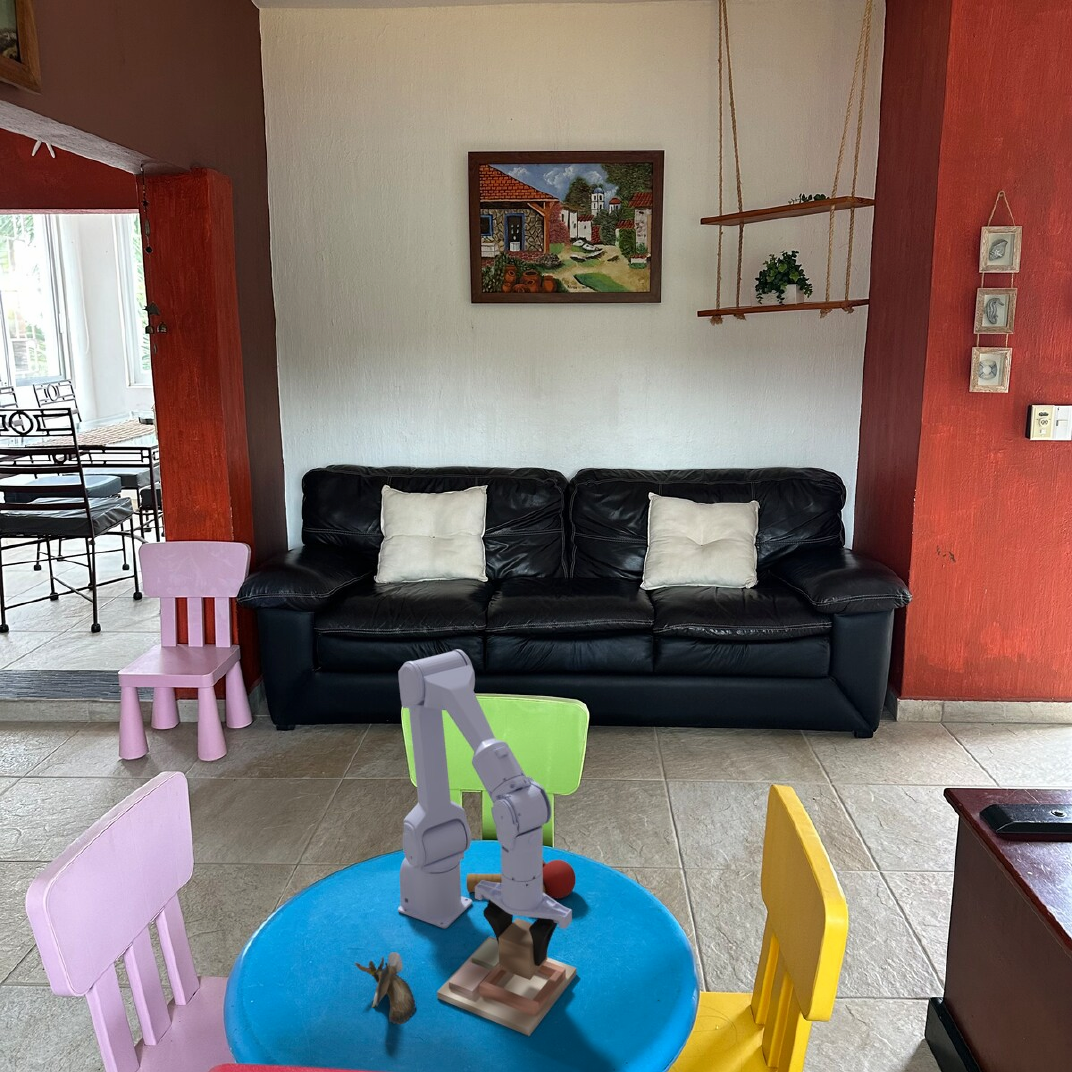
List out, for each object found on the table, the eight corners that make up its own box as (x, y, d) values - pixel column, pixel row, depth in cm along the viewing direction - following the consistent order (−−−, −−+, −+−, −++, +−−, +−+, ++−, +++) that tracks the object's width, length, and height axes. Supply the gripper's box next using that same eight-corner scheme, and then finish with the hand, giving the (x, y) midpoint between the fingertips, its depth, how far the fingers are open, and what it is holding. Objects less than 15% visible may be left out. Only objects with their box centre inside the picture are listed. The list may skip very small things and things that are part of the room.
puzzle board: (437, 997, 138) (436, 982, 137) (489, 941, 150) (489, 927, 149) (529, 1035, 131) (529, 1020, 130) (576, 973, 143) (576, 959, 142)
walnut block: (499, 968, 137) (498, 937, 136) (517, 948, 141) (516, 917, 140) (530, 980, 135) (529, 948, 134) (547, 959, 139) (547, 928, 138)
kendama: (466, 914, 159) (576, 905, 157) (461, 876, 158) (571, 867, 156) (474, 894, 166) (578, 885, 164) (469, 858, 166) (574, 849, 164)
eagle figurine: (342, 991, 138) (366, 1019, 130) (363, 941, 139) (388, 966, 132) (388, 1002, 141) (413, 1030, 134) (408, 953, 143) (434, 978, 135)
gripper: (582, 869, 134) (581, 955, 138) (492, 842, 141) (494, 923, 144) (558, 896, 128) (558, 985, 132) (465, 866, 135) (468, 951, 138)
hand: (522, 955), depth 138 cm, fingers closed on walnut block, 5 cm apart
